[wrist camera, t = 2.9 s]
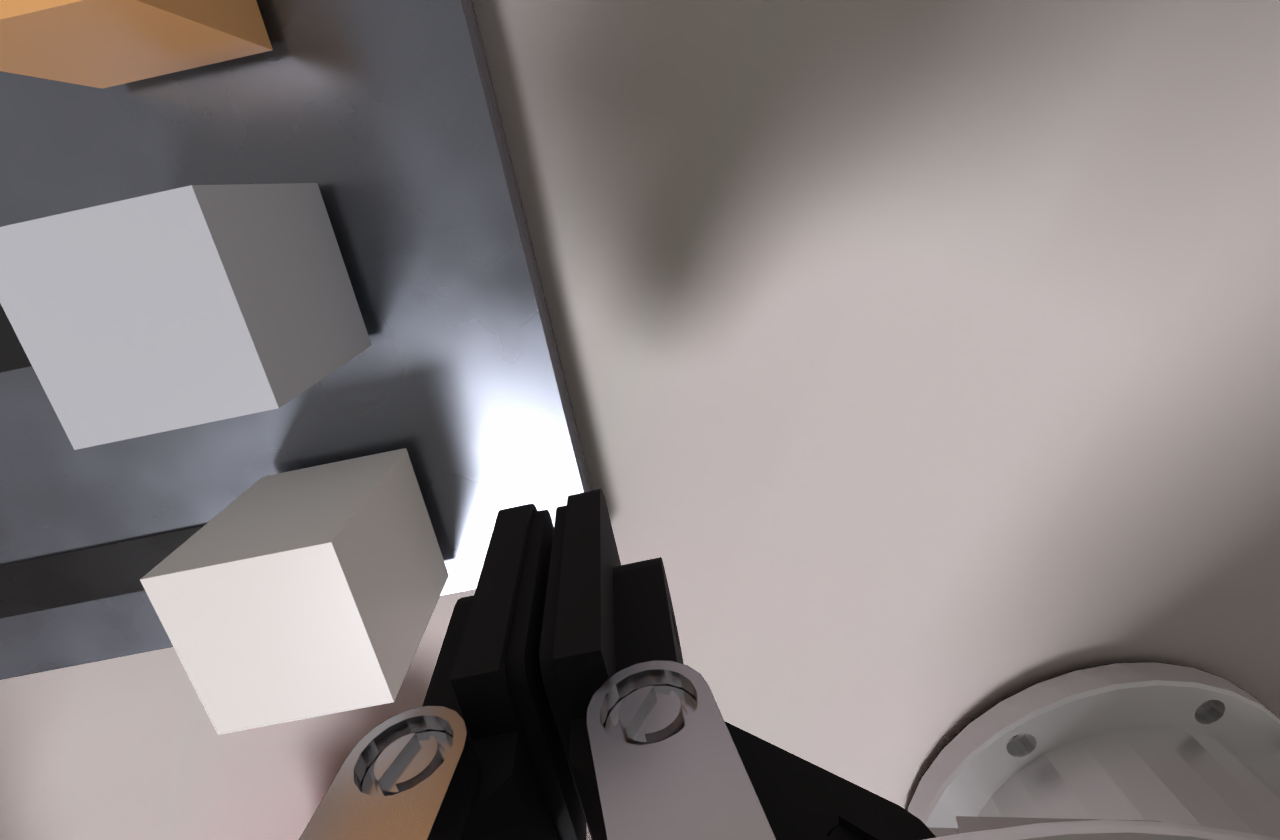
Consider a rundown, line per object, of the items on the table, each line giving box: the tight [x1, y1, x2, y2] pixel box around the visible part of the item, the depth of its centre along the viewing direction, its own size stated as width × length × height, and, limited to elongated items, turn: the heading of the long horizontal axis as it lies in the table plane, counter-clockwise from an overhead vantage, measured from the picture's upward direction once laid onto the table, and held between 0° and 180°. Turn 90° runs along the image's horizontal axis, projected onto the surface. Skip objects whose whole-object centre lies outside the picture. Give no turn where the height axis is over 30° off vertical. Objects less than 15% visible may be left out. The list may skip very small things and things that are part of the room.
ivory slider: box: [140, 448, 449, 735], centre depth 15 cm, size 4×4×4 cm
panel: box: [0, 0, 592, 680], centre depth 16 cm, size 21×17×2 cm
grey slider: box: [0, 183, 372, 450], centre depth 13 cm, size 4×4×4 cm
